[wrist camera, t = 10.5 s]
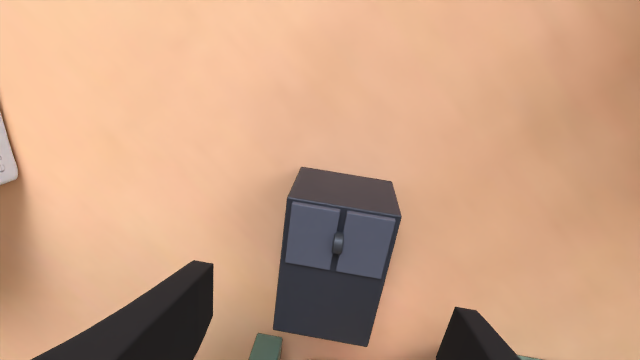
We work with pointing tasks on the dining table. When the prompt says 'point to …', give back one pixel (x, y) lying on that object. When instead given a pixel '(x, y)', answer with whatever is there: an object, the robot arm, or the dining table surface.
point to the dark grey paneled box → (335, 255)
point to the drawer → (266, 347)
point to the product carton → (6, 157)
